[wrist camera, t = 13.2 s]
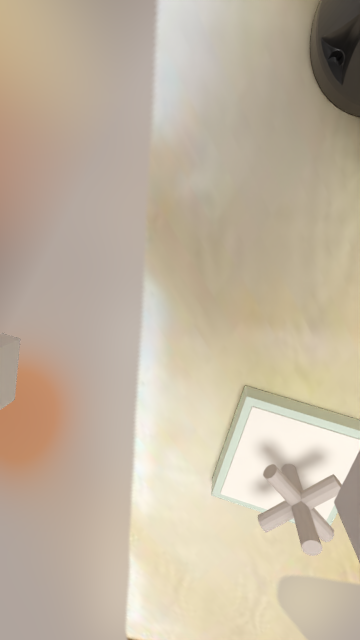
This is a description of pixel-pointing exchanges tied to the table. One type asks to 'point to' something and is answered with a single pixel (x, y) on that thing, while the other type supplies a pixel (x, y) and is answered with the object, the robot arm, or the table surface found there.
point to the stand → (283, 449)
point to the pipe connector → (300, 506)
